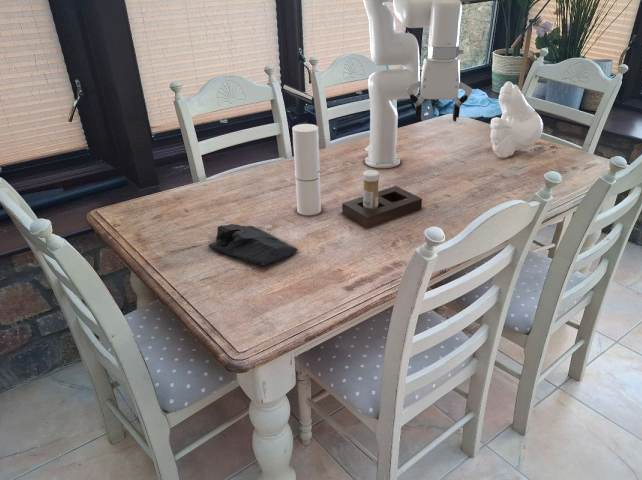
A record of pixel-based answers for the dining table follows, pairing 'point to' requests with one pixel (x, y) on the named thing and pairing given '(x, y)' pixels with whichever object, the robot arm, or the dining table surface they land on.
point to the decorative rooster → (514, 123)
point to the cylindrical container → (307, 168)
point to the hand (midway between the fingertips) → (436, 119)
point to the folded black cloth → (250, 244)
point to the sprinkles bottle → (370, 189)
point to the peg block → (382, 207)
